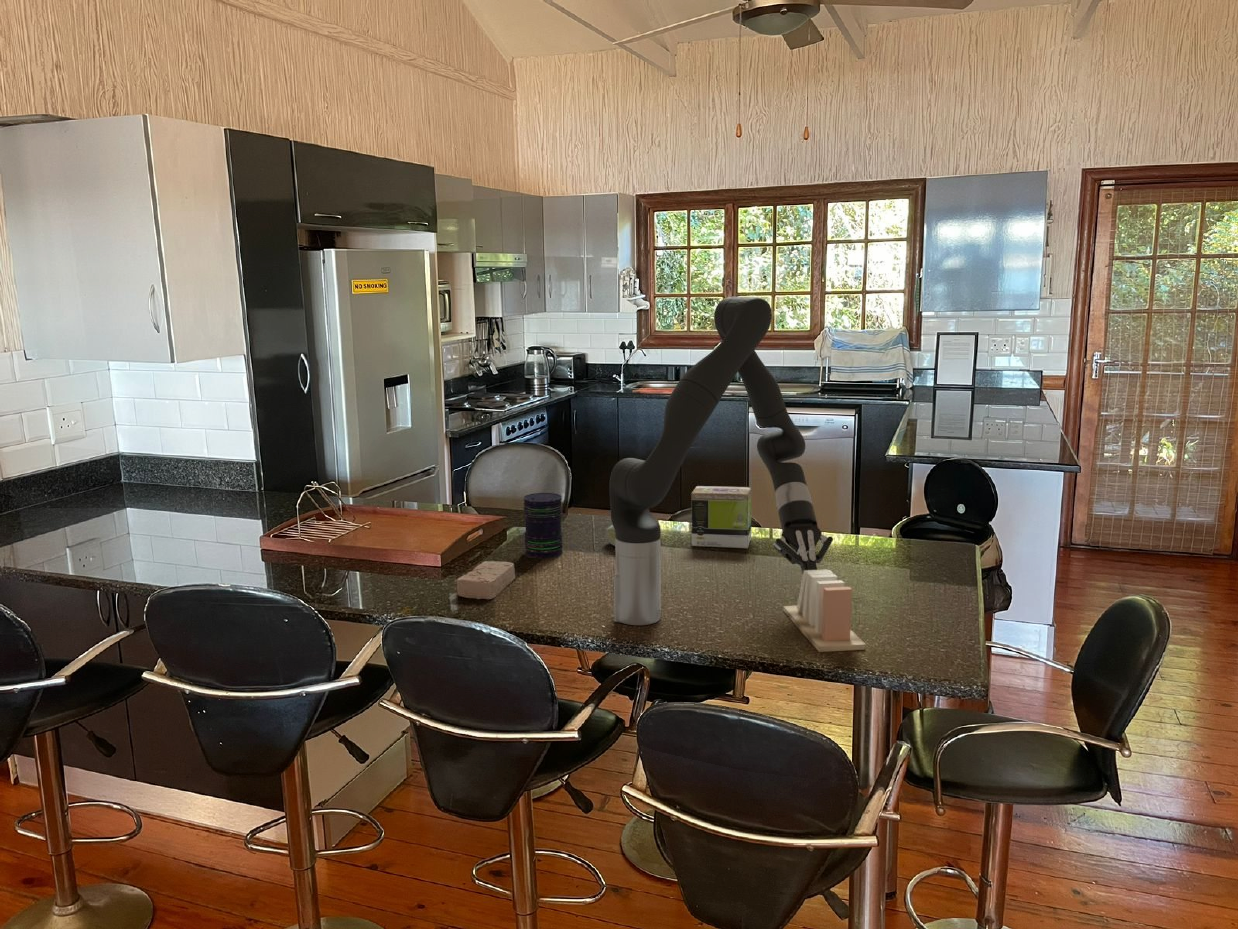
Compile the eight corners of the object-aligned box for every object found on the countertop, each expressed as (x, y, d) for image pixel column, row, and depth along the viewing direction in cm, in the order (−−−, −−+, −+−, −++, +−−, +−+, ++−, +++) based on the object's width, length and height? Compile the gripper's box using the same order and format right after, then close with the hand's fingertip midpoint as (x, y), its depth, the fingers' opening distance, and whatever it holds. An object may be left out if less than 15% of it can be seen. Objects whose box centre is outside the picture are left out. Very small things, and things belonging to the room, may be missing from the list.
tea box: (751, 539, 252) (752, 486, 250) (747, 549, 243) (748, 494, 240) (696, 537, 256) (696, 484, 253) (690, 546, 246) (690, 491, 243)
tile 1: (796, 607, 194) (803, 570, 188) (819, 606, 194) (827, 569, 189) (798, 612, 193) (806, 575, 187) (822, 611, 193) (830, 574, 188)
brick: (483, 577, 223) (482, 558, 222) (516, 579, 221) (516, 560, 220) (456, 600, 207) (455, 579, 206) (491, 602, 205) (491, 582, 204)
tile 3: (808, 623, 186) (810, 575, 185) (832, 622, 187) (834, 574, 185) (811, 626, 185) (812, 577, 183) (835, 624, 185) (837, 576, 184)
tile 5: (821, 638, 179) (823, 587, 177) (847, 636, 179) (849, 586, 177) (824, 641, 177) (826, 590, 175) (850, 639, 178) (852, 589, 176)
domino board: (783, 610, 197) (783, 606, 197) (824, 608, 198) (824, 604, 198) (819, 652, 174) (819, 647, 174) (865, 649, 175) (865, 644, 175)
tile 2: (802, 615, 190) (806, 571, 187) (826, 614, 191) (830, 570, 187) (804, 619, 189) (809, 575, 185) (828, 617, 189) (833, 573, 186)
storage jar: (551, 546, 248) (550, 491, 245) (570, 554, 240) (569, 497, 237) (518, 552, 242) (516, 496, 240) (536, 561, 234) (534, 503, 231)
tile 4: (815, 630, 182) (816, 581, 181) (839, 629, 183) (841, 580, 181) (817, 633, 181) (819, 584, 179) (842, 632, 181) (844, 582, 180)
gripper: (769, 499, 197) (784, 572, 187) (829, 497, 199) (848, 570, 189) (761, 518, 203) (776, 590, 194) (820, 516, 205) (838, 587, 195)
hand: (811, 580), depth 191 cm, fingers closed
